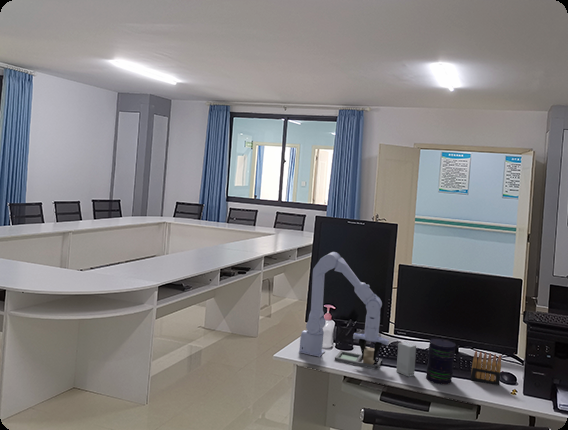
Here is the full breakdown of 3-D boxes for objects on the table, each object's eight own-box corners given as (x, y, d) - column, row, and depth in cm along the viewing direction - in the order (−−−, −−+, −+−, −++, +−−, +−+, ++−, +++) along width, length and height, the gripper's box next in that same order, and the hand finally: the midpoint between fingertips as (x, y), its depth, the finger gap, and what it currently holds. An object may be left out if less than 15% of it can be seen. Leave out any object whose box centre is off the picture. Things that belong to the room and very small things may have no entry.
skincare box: (414, 375, 207) (417, 345, 205) (407, 377, 204) (410, 347, 203) (402, 369, 211) (405, 340, 210) (395, 371, 208) (398, 342, 207)
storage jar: (451, 386, 198) (455, 348, 196) (424, 381, 201) (428, 344, 199) (451, 377, 207) (455, 341, 206) (426, 372, 210) (430, 336, 209)
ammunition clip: (470, 380, 206) (473, 350, 205) (470, 378, 208) (473, 349, 207) (499, 385, 203) (502, 355, 202) (499, 383, 205) (502, 354, 203)
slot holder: (334, 360, 216) (334, 357, 216) (340, 353, 225) (341, 350, 225) (377, 369, 209) (377, 366, 209) (382, 361, 219) (382, 358, 219)
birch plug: (362, 363, 214) (364, 349, 214) (364, 360, 218) (366, 346, 218) (372, 365, 213) (373, 351, 213) (374, 362, 217) (375, 348, 216)
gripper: (391, 327, 215) (388, 358, 217) (357, 321, 221) (354, 352, 222) (388, 331, 209) (385, 364, 210) (353, 325, 214) (350, 357, 215)
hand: (369, 358), depth 215 cm, fingers closed on birch plug, 4 cm apart
